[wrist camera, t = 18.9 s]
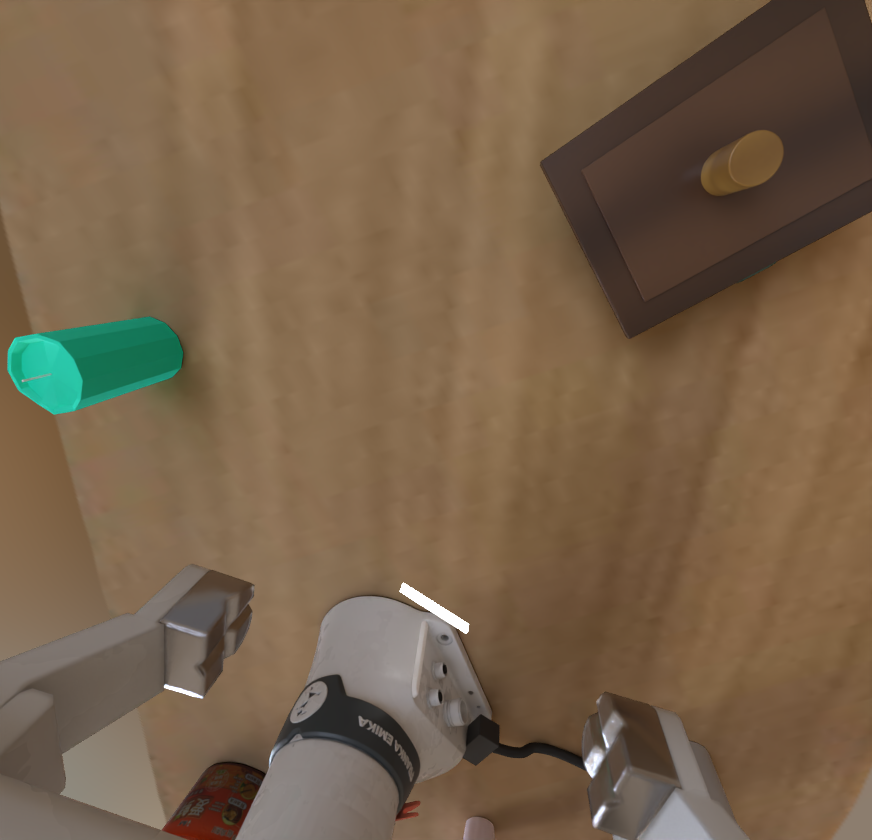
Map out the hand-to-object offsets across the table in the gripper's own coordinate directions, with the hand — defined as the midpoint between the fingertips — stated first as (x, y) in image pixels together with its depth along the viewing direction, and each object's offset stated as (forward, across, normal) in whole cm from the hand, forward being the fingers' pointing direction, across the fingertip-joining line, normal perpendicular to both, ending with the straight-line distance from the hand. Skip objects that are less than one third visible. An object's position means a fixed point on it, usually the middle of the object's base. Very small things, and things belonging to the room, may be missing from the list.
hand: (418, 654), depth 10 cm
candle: (+29, +30, +6) cm, 43 cm away
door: (+23, -10, -16) cm, 30 cm away
